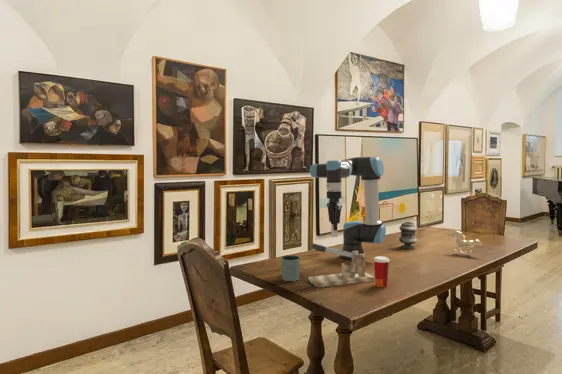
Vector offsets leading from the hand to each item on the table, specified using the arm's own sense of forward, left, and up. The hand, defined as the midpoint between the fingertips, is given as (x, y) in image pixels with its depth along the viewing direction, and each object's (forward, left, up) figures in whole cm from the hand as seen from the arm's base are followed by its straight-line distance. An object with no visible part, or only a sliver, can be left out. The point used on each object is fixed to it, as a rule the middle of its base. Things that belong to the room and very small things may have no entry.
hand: (334, 236), depth 206 cm
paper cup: (-19, +14, -24) cm, 33 cm away
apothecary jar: (-84, -55, -24) cm, 103 cm away
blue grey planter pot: (+20, -11, -24) cm, 33 cm away
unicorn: (-105, -23, -24) cm, 110 cm away
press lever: (-1, 0, -9) cm, 10 cm away
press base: (-4, 0, -24) cm, 24 cm away
